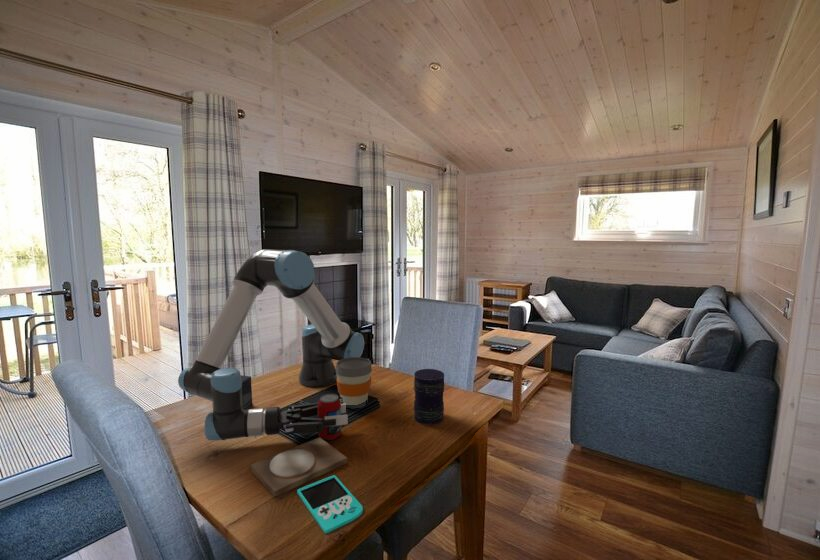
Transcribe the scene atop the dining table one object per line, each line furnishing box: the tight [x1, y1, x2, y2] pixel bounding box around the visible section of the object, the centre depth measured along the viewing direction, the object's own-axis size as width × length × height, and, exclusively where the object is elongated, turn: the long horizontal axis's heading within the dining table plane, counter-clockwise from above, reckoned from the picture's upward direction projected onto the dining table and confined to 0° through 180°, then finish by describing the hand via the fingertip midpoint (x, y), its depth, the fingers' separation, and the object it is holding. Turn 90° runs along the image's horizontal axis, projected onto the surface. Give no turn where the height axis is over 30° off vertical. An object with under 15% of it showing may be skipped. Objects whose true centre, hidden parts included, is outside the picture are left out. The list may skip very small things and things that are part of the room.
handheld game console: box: [296, 474, 364, 534], centre depth 90 cm, size 10×16×1 cm, turn 37°
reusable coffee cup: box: [335, 356, 373, 405], centre depth 139 cm, size 13×13×15 cm
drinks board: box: [250, 436, 348, 498], centre depth 103 cm, size 20×14×2 cm
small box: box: [240, 374, 253, 410], centre depth 136 cm, size 11×6×10 cm, turn 76°
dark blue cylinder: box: [413, 368, 445, 426], centre depth 129 cm, size 10×10×15 cm
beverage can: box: [317, 393, 342, 441], centre depth 118 cm, size 7×7×12 cm
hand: (346, 413), depth 119 cm, fingers closed on beverage can, 7 cm apart
